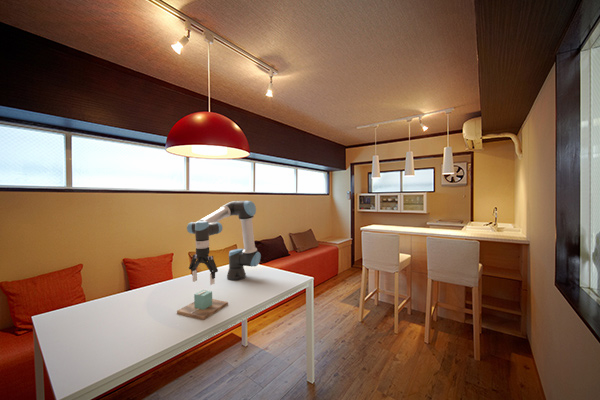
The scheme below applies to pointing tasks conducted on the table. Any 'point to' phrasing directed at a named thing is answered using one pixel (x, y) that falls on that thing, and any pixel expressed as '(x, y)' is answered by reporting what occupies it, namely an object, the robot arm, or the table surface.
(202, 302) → the teal rectangular block
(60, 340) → the table surface
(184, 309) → the wooden peg board
